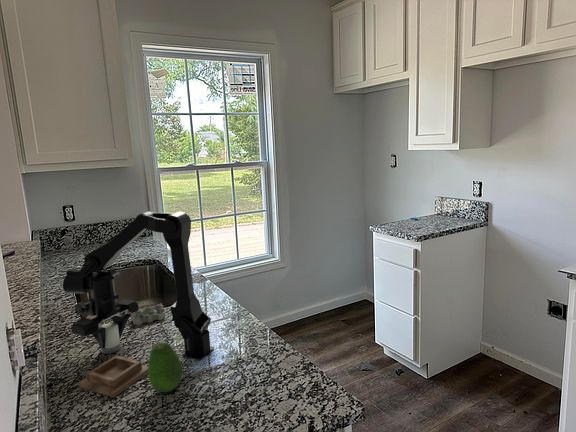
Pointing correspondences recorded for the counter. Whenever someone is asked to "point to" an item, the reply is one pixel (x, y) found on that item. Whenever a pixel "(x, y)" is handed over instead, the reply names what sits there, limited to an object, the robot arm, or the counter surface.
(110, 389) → the holder
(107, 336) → the white rounded cylinder
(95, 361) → the counter surface
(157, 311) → the egg carton
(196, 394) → the counter surface
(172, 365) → the avocado
